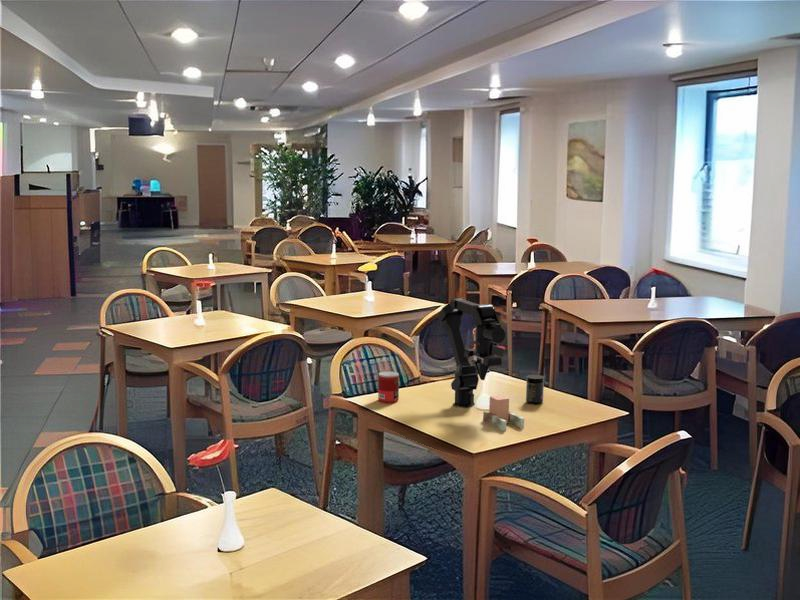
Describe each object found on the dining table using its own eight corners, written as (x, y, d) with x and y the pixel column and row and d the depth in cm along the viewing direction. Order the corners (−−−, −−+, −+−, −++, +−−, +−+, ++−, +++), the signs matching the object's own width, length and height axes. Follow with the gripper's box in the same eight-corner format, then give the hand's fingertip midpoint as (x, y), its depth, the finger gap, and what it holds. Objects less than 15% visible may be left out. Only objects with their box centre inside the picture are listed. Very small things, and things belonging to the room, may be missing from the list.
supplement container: (541, 405, 325) (542, 379, 324) (524, 404, 328) (525, 378, 326) (544, 401, 332) (545, 375, 330) (527, 399, 334) (528, 374, 332)
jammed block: (489, 420, 305) (489, 396, 303) (500, 419, 307) (501, 395, 306) (496, 424, 300) (497, 400, 299) (508, 422, 303) (509, 398, 301)
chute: (483, 420, 305) (483, 411, 304) (503, 418, 309) (503, 408, 308) (503, 431, 293) (503, 421, 293) (524, 427, 297) (524, 418, 297)
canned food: (398, 403, 326) (398, 376, 325) (377, 403, 326) (377, 375, 325) (398, 398, 334) (399, 371, 332) (378, 398, 334) (378, 370, 332)
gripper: (515, 341, 305) (514, 383, 307) (489, 332, 321) (488, 372, 324) (488, 343, 300) (488, 386, 302) (463, 334, 317) (463, 375, 319)
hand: (482, 379), depth 312 cm, fingers closed
